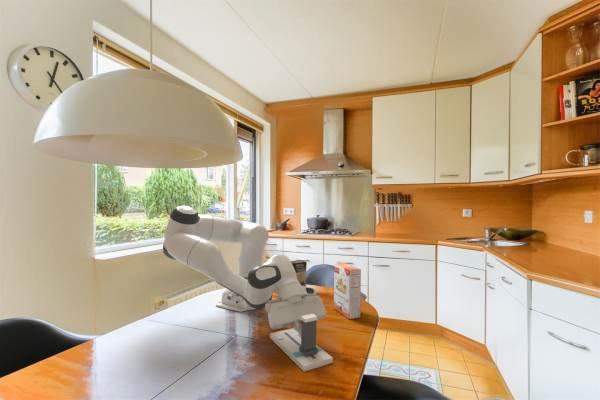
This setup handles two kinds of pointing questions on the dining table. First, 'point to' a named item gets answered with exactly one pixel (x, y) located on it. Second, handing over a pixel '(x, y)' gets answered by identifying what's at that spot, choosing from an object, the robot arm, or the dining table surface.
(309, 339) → the fader tab
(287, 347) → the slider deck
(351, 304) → the cracker box
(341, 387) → the dining table surface
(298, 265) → the coffee box
